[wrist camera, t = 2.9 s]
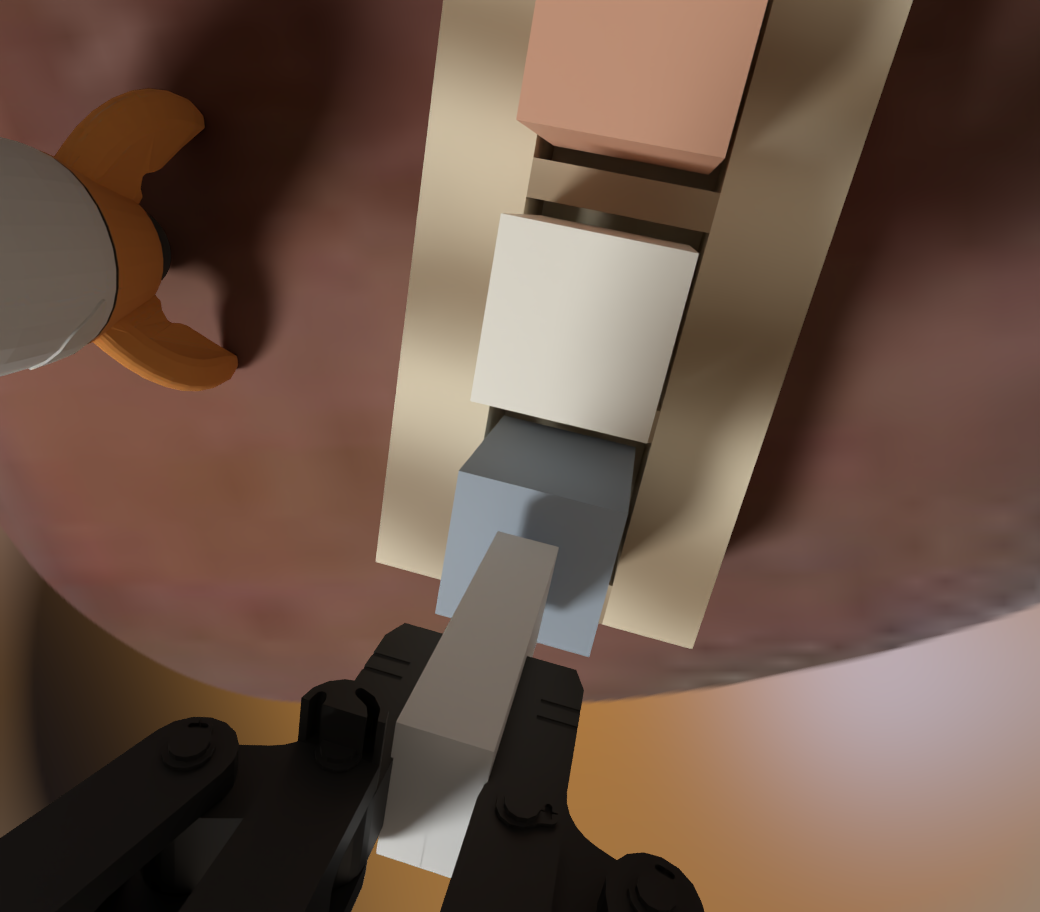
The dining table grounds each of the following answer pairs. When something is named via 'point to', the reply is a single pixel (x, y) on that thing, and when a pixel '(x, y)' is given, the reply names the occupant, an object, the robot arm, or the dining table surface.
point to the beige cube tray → (648, 212)
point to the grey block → (543, 519)
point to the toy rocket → (98, 247)
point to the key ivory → (580, 323)
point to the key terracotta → (640, 77)
